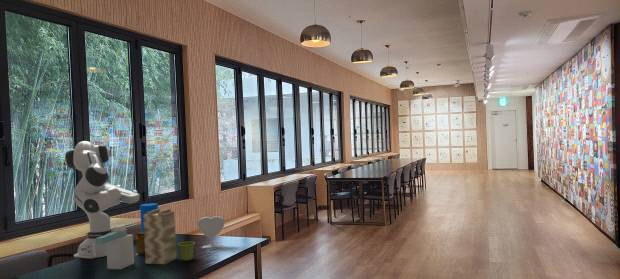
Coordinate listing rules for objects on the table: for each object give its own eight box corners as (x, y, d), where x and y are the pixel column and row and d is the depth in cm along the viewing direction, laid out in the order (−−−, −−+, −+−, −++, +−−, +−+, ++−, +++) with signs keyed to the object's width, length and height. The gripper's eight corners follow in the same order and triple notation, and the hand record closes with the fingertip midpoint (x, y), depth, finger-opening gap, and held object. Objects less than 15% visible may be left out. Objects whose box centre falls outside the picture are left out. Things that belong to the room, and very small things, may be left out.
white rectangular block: (107, 268, 236) (106, 239, 236) (121, 263, 246) (119, 234, 246) (121, 269, 234) (119, 239, 234) (134, 263, 244) (132, 234, 244)
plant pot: (194, 256, 254) (194, 240, 254) (196, 260, 245) (196, 244, 245) (177, 258, 251) (176, 242, 251) (178, 262, 242) (178, 246, 242)
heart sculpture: (198, 248, 273) (197, 218, 273) (199, 246, 278) (198, 217, 278) (224, 246, 275) (223, 216, 274) (225, 244, 280) (224, 215, 279)
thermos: (142, 242, 296) (140, 204, 296) (159, 240, 300) (157, 202, 299) (141, 245, 286) (139, 206, 286) (159, 244, 289) (157, 204, 289)
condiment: (138, 252, 270) (137, 232, 270) (152, 251, 271) (151, 231, 271) (134, 255, 263) (133, 234, 263) (149, 254, 264) (148, 233, 264)
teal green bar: (95, 244, 224) (95, 233, 224) (120, 234, 245) (120, 224, 245) (102, 244, 224) (101, 233, 224) (126, 234, 244) (126, 224, 244)
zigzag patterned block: (145, 263, 243) (143, 212, 243) (157, 258, 254) (154, 209, 253) (165, 264, 240) (163, 212, 240) (176, 258, 251) (174, 208, 251)
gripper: (131, 196, 220) (146, 189, 233) (94, 184, 222) (111, 177, 236) (129, 208, 221) (144, 200, 234) (92, 196, 224) (109, 189, 237)
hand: (127, 189), depth 235 cm, fingers open, 8 cm apart
